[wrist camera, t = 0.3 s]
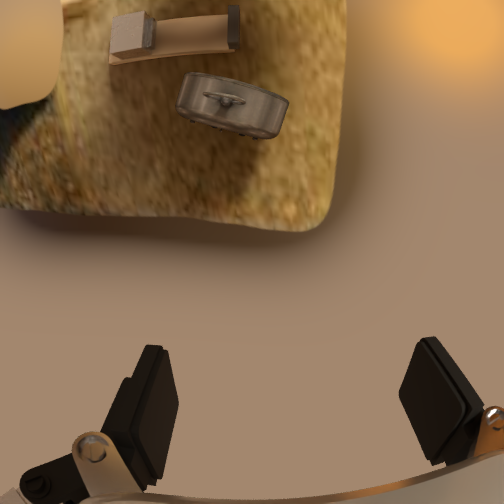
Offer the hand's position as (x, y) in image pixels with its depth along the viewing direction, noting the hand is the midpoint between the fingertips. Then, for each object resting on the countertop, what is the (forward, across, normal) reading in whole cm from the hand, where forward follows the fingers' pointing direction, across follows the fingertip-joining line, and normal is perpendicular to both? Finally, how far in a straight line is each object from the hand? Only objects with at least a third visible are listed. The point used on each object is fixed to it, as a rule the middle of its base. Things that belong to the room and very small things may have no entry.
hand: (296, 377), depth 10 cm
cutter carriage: (+29, +15, -22) cm, 39 cm away
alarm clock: (+31, +4, -11) cm, 33 cm away
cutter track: (+30, +12, -22) cm, 39 cm away
